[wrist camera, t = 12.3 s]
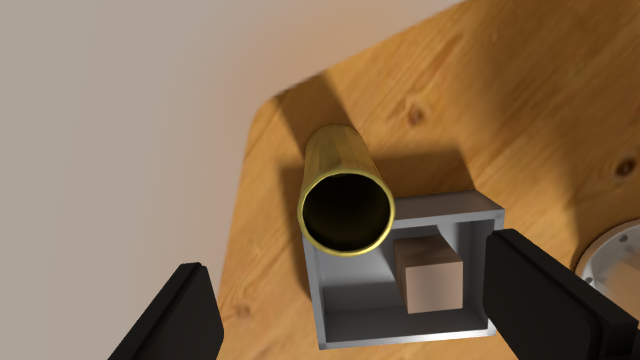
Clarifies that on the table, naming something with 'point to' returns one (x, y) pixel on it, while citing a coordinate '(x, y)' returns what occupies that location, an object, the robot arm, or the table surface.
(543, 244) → the table surface
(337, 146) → the vase
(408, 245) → the walnut cube
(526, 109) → the table surface
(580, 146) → the table surface
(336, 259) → the tote
